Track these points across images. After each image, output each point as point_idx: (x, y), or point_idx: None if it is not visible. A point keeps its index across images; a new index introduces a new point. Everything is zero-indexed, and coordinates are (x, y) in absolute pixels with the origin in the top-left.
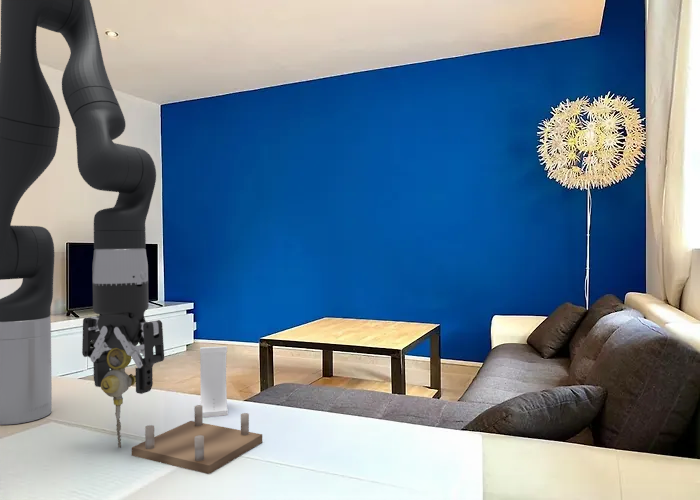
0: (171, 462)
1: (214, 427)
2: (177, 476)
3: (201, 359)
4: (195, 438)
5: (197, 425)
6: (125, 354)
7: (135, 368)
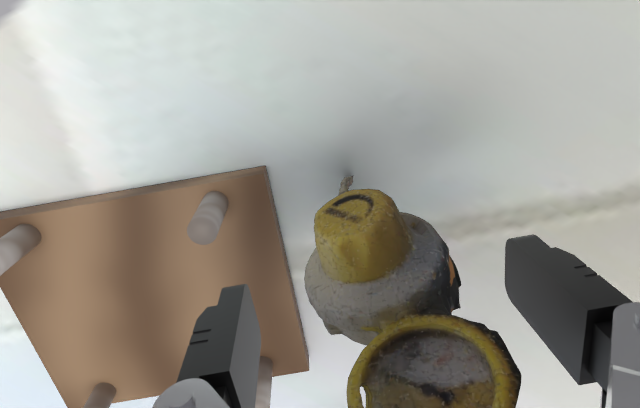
0: (110, 195)
1: None
2: (34, 161)
3: None
4: None
5: None
6: None
7: (228, 369)
